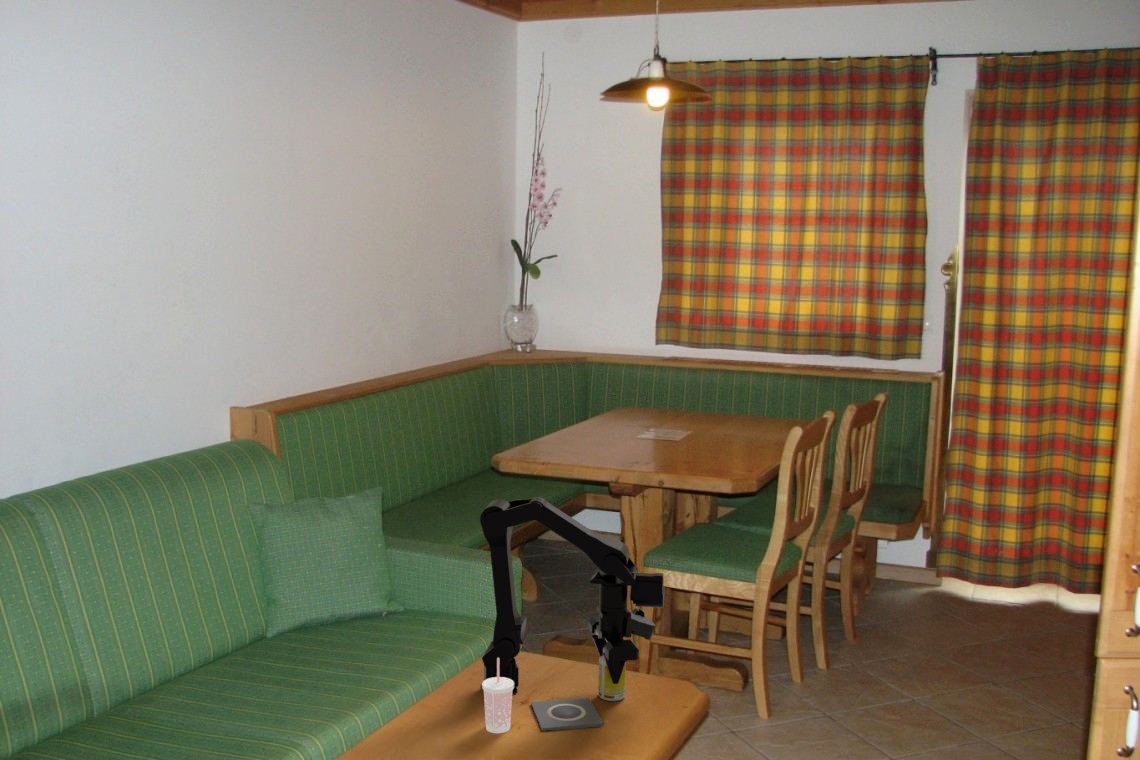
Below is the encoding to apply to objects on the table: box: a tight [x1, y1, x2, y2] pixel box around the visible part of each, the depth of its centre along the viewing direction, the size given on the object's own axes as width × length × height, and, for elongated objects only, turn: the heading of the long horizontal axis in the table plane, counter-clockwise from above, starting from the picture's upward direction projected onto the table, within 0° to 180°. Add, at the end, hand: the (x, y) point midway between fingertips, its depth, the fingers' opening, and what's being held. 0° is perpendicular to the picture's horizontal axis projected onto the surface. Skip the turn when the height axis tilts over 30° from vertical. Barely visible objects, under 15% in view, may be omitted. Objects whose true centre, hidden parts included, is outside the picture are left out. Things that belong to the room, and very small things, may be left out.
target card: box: [530, 697, 604, 732], centre depth 217 cm, size 12×12×1 cm
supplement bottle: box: [597, 648, 627, 702], centre depth 225 cm, size 6×6×10 cm
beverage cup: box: [481, 658, 514, 734], centre depth 210 cm, size 6×6×14 cm
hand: (612, 677), depth 225 cm, fingers closed on supplement bottle, 5 cm apart
